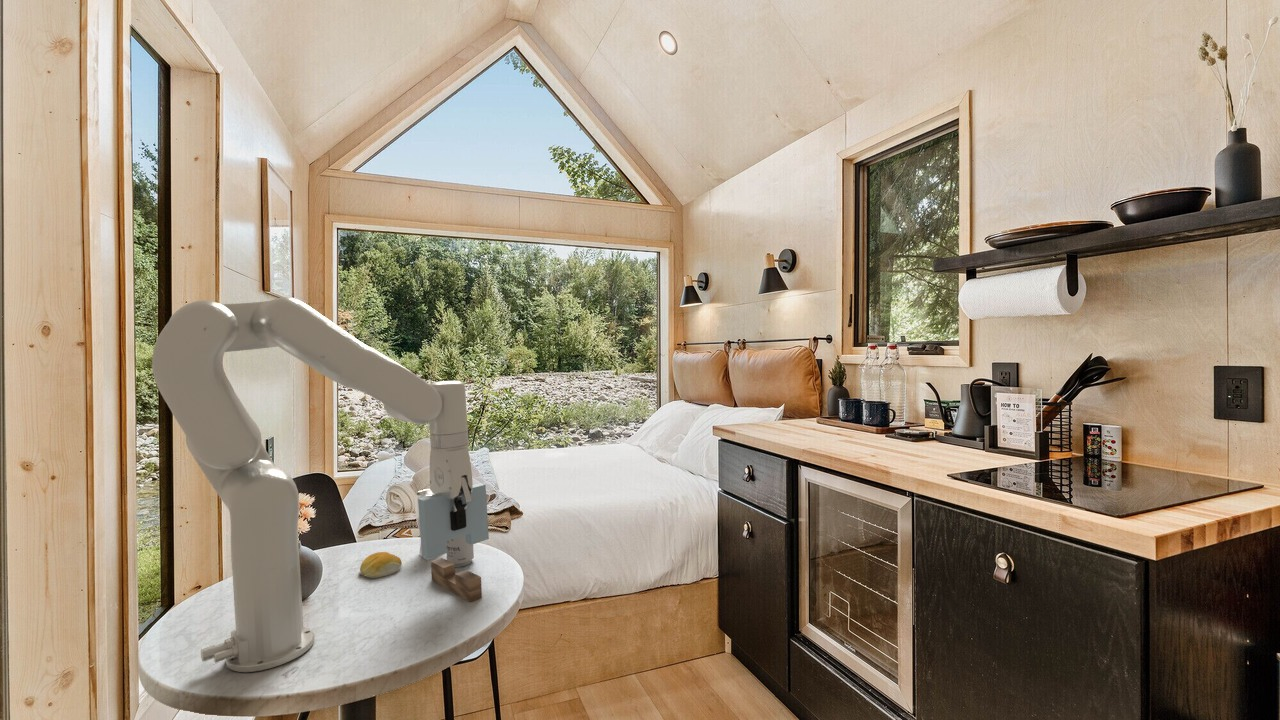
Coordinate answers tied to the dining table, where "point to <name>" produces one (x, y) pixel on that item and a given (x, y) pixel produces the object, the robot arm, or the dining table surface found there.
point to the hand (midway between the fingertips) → (455, 526)
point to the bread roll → (380, 565)
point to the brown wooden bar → (456, 580)
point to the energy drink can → (459, 551)
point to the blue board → (439, 522)
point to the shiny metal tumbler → (418, 495)
